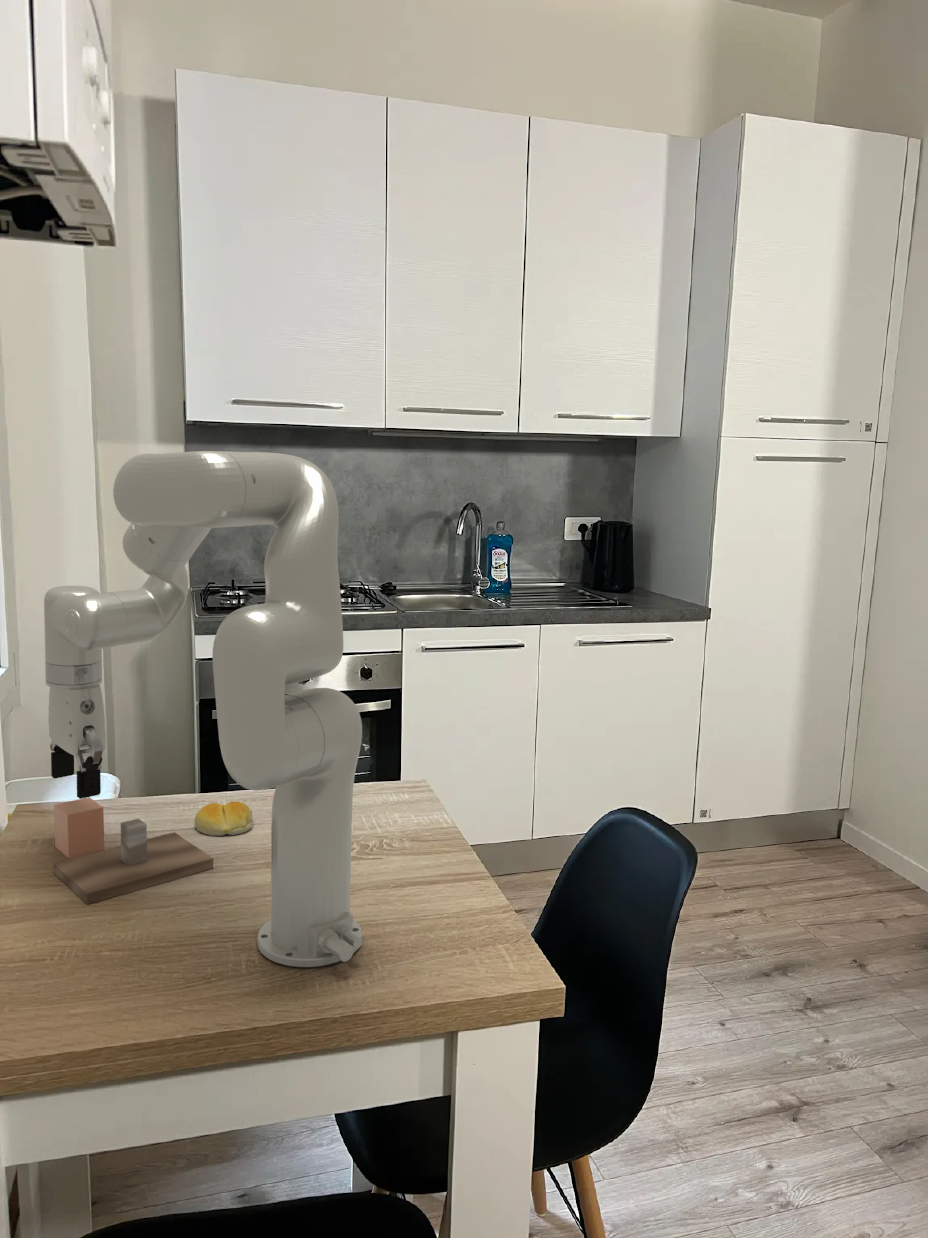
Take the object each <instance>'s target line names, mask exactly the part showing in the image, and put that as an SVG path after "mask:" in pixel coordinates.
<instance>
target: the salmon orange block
mask: <svg viewBox="0 0 928 1238" xmlns="http://www.w3.org/2000/svg"><path fill="white" fill-rule="evenodd" d="M53 813H54V818H53V819H54V821H53V822H54V847H55V848H56V849H57V850H58V851H59V852H60V853H61V854H62V855H64V856H65V857H66V858H67V859H70V858H74V857H78V856H82V855H86V854H90V853H94V852H98V851H102V850H105V829H104V828H105V825H104V823H105V822H104V807H103V806H102V805H101V804H99V803H98V802H97V801H96V800H94V799H92V797H87V798H82V799H80V798H78V799H74V800H69V801H65V802H61V803H55V804H53Z"/></svg>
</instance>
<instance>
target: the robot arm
mask: <svg viewBox="0 0 928 1238" xmlns="http://www.w3.org/2000/svg"><path fill="white" fill-rule="evenodd" d="M112 490H113V491H112V492H113V493H112V494H113V495H112V496H113V500H114V505H115V507H116V510H117V512H118V513H119V515H120V516H121V517H122V518H123V519H124V520H126V521H127V522H129V523H130V524H129V525H128V527H127V529H126V530H125V532H124V534H123V537H122V548H123V552H124V554H125V556H126V557H127V558H128V560H129V561H130V562H131V564H133V565H134V566H135V567H136V568H137V569H139V570H140V571H141V572H142V573H145V574H147V576H148V578H147V579H146V581H145V582H144V583H143V585H141V586H140V588H135V589H128V590H127V589H125V590H117V591H109V592H104V593H100V592H99V591H98V590H97V589H96V588H94V587H90V586H85V585H60V586H55V587H52V588H50V589H48V590H47V591H46V592H45V595H44V598H43V611H44V612H43V613H44V615H43V616H44V618H43V619H44V620H43V621H44V622H43V623H44V658H45V659H44V661H45V662H44V663H45V664H44V666H45V669H44V670H45V673H44V676H45V685H46V686H48V687H49V694H48V695H49V696H48V731H49V738H50V740H51V742H50V745H49V746H50V747H49V748H50V751H51V752H50V766H51V767H50V770H51V771H50V776H51V777H52V779H60V778H64V777H65V778H66V777H71V776H73V775H74V774H75V759H76V763H77V766H78V770H77V771H76V798H78V799H83V798H88V797H90V798H92V797H96V796H99V795H101V792H102V791H101V789H102V788H101V782H102V780H101V770H102V763H103V752H104V751H105V750H106V748H107V738H106V737H107V736H106V722H105V709H104V700H103V693H102V689H101V684H102V683H103V660H102V659H103V653H102V652H103V649H108V648H109V649H111V648H116V647H118V646H126V645H129V644H130V645H131V644H137V643H138V644H139V643H142V642H149V641H152V640H154V639H157V638H158V637H159V636H161V635H162V634H164V633H165V631H167V629H168V628H169V627H170V626H171V625H172V624H173V622H174V621H175V620H176V618H177V617H178V616H179V614H180V613H181V612H182V610H183V609H184V607H185V605H186V602H187V598H188V594H189V575H188V570H187V568H186V565H187V563H188V562H189V561H190V559H191V558H192V557H193V556H194V554H195V552H196V550H197V549H198V548H199V547H200V545H201V543H202V542H203V541H204V539H205V538H206V537H207V535H208V534H209V533H210V531H211V530H212V529H215V528H216V529H219V528H220V529H222V528H234V527H236V528H237V527H253V526H264V525H265V526H266V525H268V526H274V527H275V529H276V530H275V531H274V533H273V535H272V536H271V539H270V541H269V544H268V546H267V549H266V553H265V557H264V564H263V574H264V580H265V581H264V582H265V600H264V601H265V602H264V603H258V604H253V605H252V604H250V605H247V606H242V607H240V608H238V609H235V610H234V611H232V612H231V613H229V614H228V615H227V616H226V617H224V619H223V620H222V622H221V623H220V624H219V627H218V629H217V631H216V634H215V636H214V641H213V647H212V670H213V671H212V673H213V684H214V686H213V687H214V694H215V695H214V696H215V707H216V708H215V709H216V716H217V717H216V718H217V731H218V741H219V747H220V754H221V757H222V761H223V764H224V766H225V768H226V770H227V773H228V774H229V775H230V777H231V778H232V779H233V781H235V782H236V783H237V784H238V785H239V786H241V787H242V788H244V789H246V790H250V791H256V792H257V791H267V790H270V789H273V788H274V793H273V798H272V804H271V829H270V832H271V833H270V835H271V839H270V845H271V846H270V847H271V848H270V853H271V854H270V860H271V861H270V875H271V876H270V920H268V921H267V922H266V923H264V924H263V925H262V926H261V927H260V929H259V930H258V933H257V947H258V950H259V951H260V953H261V954H262V955H263V956H264V957H265V958H267V959H268V960H270V961H271V962H274V963H276V964H279V965H282V966H288V967H294V968H315V967H317V968H318V967H323V966H330V965H332V964H336V963H339V962H343V963H344V962H345V963H346V962H348V961H350V959H352V957H353V954H354V953H355V952H357V950H358V949H360V947H362V945H363V942H364V940H363V935H362V934H363V931H362V930H363V929H362V927H361V926H360V924H359V923H358V922H357V921H356V920H355V919H354V915H353V914H352V913H351V912H350V911H351V872H352V871H351V870H352V869H351V868H352V861H351V860H352V829H353V828H352V827H353V826H352V824H353V823H352V822H353V800H354V799H353V797H354V784H355V777H356V776H355V775H356V771H357V770H356V769H357V765H358V761H359V757H360V753H361V752H360V751H361V746H362V739H363V723H362V718H361V714H360V712H359V710H358V707H357V705H356V704H355V703H354V701H353V700H352V699H351V698H350V697H349V696H348V695H347V694H345V693H343V692H342V691H339V690H337V689H334V688H330V687H313V688H308V689H307V688H306V689H303V690H299V691H297V692H292V693H289V694H285V693H286V691H285V690H286V686H289V685H292V684H297V683H298V684H299V683H301V682H305V681H308V680H313V679H315V678H319V677H322V676H324V675H326V674H327V675H328V673H330V672H333V670H335V669H336V668H337V667H338V666H339V664H340V663H341V661H342V657H343V653H344V629H343V628H344V627H343V626H344V625H343V611H342V597H341V587H340V586H341V585H340V572H339V563H338V559H339V558H338V542H339V541H338V540H339V522H340V521H339V503H338V498H337V494H336V491H335V488H334V486H333V484H332V482H331V480H330V479H329V477H328V475H326V473H324V471H323V470H322V469H321V468H319V467H318V466H317V465H316V464H314V463H313V462H311V461H309V460H307V459H305V458H303V457H300V456H296V455H293V454H287V453H278V452H268V451H267V452H264V451H226V450H224V451H223V450H222V451H221V450H217V451H216V450H202V451H201V450H199V451H197V450H196V451H184V452H182V451H181V452H166V453H165V452H164V453H140V454H136V455H135V456H132V457H131V458H129V459H128V460H127V461H126V462H124V464H123V465H122V466H121V467H120V468H119V470H118V472H117V474H116V476H115V479H114V483H113V489H112ZM86 756H87V757H86ZM84 757H86V758H85V760H84Z"/></svg>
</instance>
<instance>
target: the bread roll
mask: <svg viewBox="0 0 928 1238" xmlns="http://www.w3.org/2000/svg"><path fill="white" fill-rule="evenodd" d="M253 822H254V821H253V810H252V809H251V808H250V807H249V806H248V805H247V804H246V803H243V802H240V801H229V802H227V803H226V804H221V803H217V802H215V803H214V802H213V803H212V802H211V803H208V804H206V805H204V806H203V807H201V808H200V809H199V810H198V811H197V812H196V814H195V816H194V827H195V829H196V830H197V831H198V832H200V833H202V834H204V835H208V836H211V837H213V836H214V837H219V836H224V835H228V836H235V835H240V834H243V833H246V832H248V831H250V830H251V829H252V827H253V825H254V824H253Z"/></svg>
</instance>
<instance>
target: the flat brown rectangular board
mask: <svg viewBox="0 0 928 1238" xmlns="http://www.w3.org/2000/svg"><path fill="white" fill-rule="evenodd" d="M147 834H148V831H147V823H145V821H143V820H142V819H140V818H134V819H130V820H126V821H122V822H120V845H119V846H114V847H110V848H106V849H104V850H101V851H97V852H94V853H90V854H86V855H82V856H78V857H74V858H70V859H68V858H67V859H63V860H58V861H55V862H52V873H53V875H54V876H56V877H57V878H58V879H59V880H60V882H62V883H64V885H65V886H67V887H68V888H69V889H70V890H71V891H72V892H73V893H74V894H75V895H76V896H78V897H79V898H80V899H81V901H83V902H84V903H85V904H86V905H90V904H93V903H98V902H100V901H101V902H102V901H104V900H108V899H112V898H115V897H118V896H122V895H125V894H129V893H133V892H135V891H139V890H143V889H145V888H146V889H147V888H150V887H154V886H156V885H160V884H162V883H163V884H164V883H167V882H171V881H174V880H177V879H180V878H181V879H182V878H184V877H189V876H191V875H194V874H199V873H203V872H205V871H209V870H212V869H214V857H212V856H211V855H209V854H208V853H206V852H205V851H203V850H202V849H200V848H198V847H197V846H196V845H194V844H193V843H191V842H190V841H188V840H187V839H185V838H184V837H183V836H181V835H179V834H177V832H170V833H166V834H163V835H159V836H154V837H151V838H148V835H147Z"/></svg>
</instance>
